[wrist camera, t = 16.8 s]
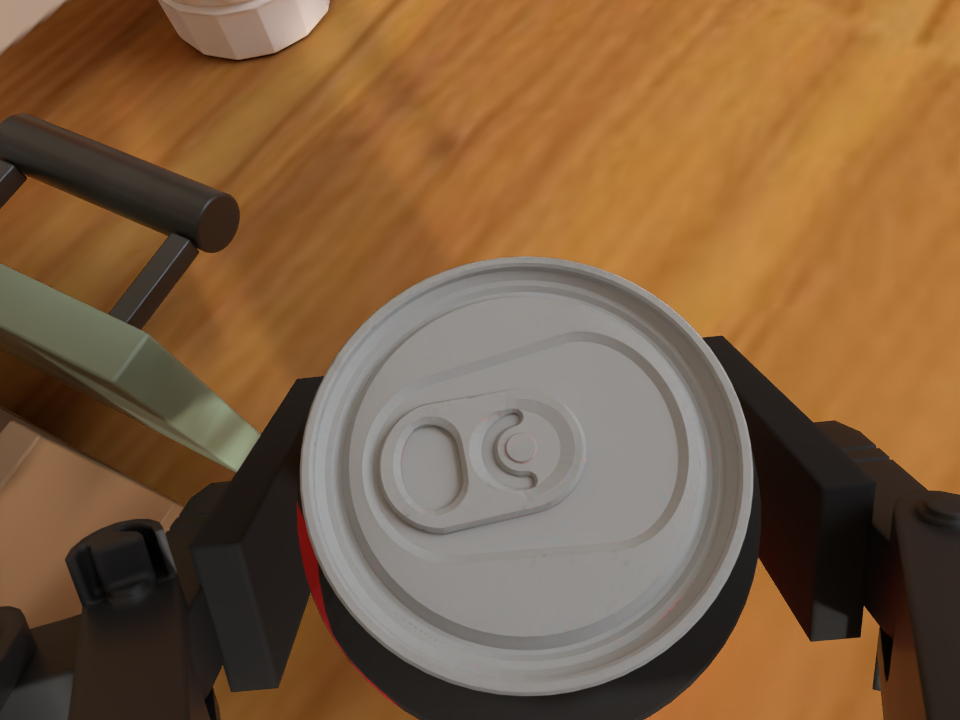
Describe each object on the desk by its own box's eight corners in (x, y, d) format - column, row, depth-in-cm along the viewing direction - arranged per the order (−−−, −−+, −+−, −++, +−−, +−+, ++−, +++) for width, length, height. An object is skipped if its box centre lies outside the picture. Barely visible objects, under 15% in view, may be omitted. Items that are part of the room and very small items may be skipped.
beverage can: (679, 683, 18) (914, 693, 7) (432, 734, 17) (260, 828, 7) (613, 447, 20) (705, 175, 9) (398, 490, 20) (236, 268, 9)
